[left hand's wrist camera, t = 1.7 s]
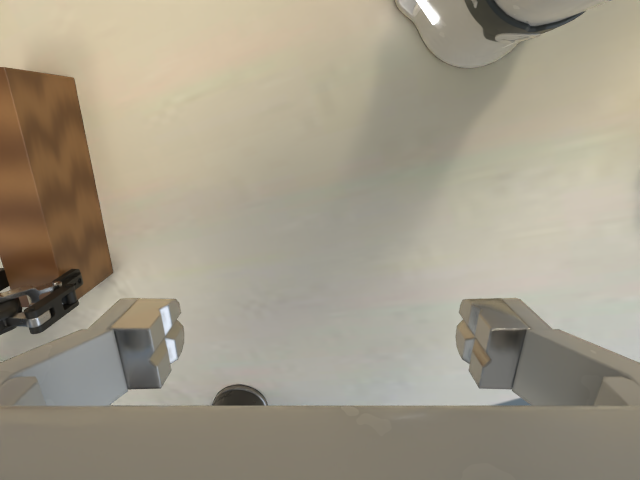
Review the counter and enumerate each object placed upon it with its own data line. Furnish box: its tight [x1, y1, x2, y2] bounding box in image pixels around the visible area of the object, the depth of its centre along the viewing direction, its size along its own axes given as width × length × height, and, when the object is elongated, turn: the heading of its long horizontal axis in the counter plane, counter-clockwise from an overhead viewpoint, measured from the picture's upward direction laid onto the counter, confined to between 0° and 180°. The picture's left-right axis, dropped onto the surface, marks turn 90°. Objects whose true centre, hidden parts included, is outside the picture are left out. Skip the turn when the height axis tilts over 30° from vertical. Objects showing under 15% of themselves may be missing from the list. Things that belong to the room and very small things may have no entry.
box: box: [0, 67, 113, 307], centre depth 43 cm, size 27×6×10 cm, turn 179°
